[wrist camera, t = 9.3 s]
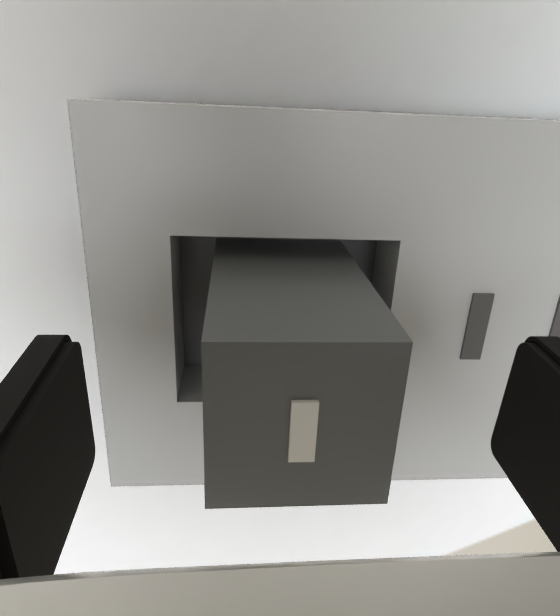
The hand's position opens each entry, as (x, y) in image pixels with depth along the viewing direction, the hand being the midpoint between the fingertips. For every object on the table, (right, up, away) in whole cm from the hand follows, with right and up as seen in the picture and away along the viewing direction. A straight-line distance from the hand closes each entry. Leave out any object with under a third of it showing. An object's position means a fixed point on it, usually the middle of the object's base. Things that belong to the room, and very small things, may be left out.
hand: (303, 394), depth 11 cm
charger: (-1, +2, +8) cm, 8 cm away
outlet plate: (+2, +2, +8) cm, 9 cm away
